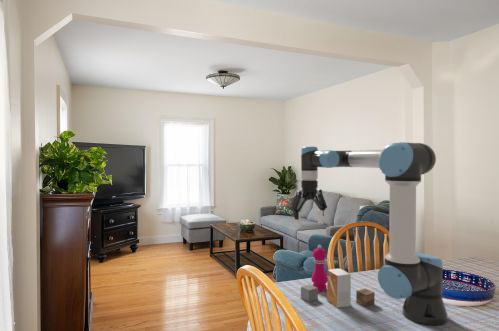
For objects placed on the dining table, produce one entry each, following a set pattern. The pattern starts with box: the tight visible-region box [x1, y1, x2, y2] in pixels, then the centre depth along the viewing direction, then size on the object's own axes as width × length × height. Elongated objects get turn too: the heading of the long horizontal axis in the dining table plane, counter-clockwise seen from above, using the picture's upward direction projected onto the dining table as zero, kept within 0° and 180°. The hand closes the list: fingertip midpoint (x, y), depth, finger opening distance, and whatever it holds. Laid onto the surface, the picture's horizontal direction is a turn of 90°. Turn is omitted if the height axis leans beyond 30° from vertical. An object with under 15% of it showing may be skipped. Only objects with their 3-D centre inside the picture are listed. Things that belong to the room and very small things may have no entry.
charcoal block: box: [300, 284, 319, 303], centre depth 152 cm, size 5×5×5 cm
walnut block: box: [355, 288, 375, 308], centre depth 147 cm, size 5×5×5 cm
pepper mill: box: [311, 244, 327, 292], centre depth 164 cm, size 7×7×20 cm
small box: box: [326, 268, 352, 309], centre depth 147 cm, size 8×6×13 cm
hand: (309, 225), depth 169 cm, fingers open, 13 cm apart
